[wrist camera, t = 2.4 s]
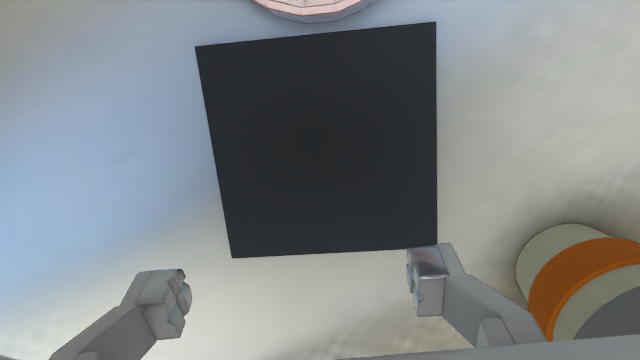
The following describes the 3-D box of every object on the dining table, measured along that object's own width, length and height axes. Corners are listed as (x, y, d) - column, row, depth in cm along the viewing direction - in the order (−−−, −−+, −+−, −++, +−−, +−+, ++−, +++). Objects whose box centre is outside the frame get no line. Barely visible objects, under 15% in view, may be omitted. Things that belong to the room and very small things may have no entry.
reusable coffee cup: (554, 343, 39) (673, 504, 25) (468, 269, 38) (544, 398, 23) (663, 263, 36) (871, 395, 22) (574, 177, 34) (737, 261, 20)
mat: (233, 255, 39) (231, 258, 38) (197, 46, 33) (194, 46, 32) (435, 244, 37) (437, 247, 36) (434, 22, 31) (436, 21, 31)
